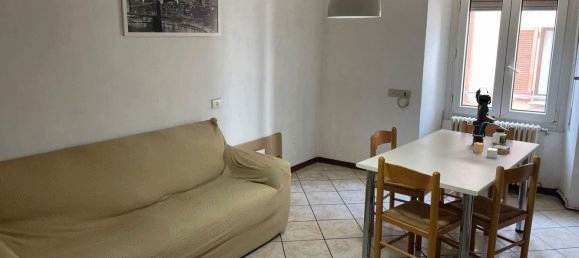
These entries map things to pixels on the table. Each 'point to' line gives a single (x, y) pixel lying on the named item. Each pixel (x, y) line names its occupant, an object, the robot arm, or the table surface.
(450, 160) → the table surface
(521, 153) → the table surface
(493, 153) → the grey block
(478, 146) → the ochre block
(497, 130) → the medicine bottle
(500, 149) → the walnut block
